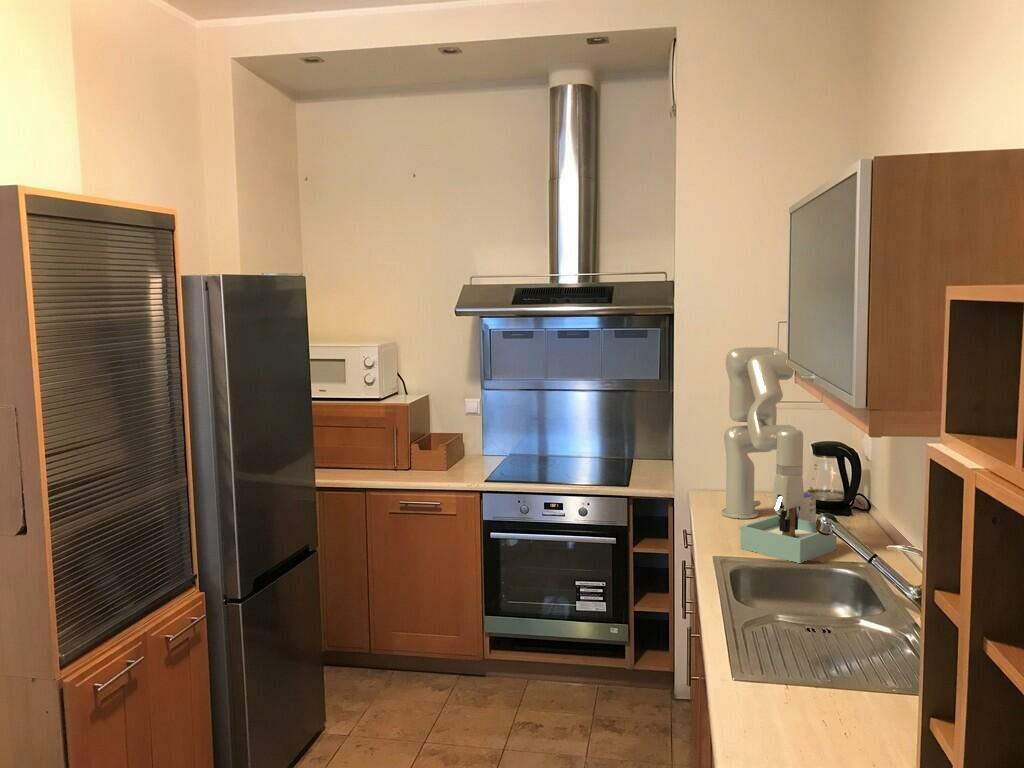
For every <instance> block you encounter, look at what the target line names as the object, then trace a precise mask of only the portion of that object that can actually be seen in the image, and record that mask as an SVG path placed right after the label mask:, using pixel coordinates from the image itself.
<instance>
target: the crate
mask: <svg viewBox="0 0 1024 768" xmlns="http://www.w3.org/2000/svg"><path fill="white" fill-rule="evenodd" d="M778 516H779V515H778V514H776V515H774V516H773V515H772V516H769V517H766V518H763V519H759V520H757V521H752V522H751V523H747V524H743V525H740V538H739V539H740V543H739V547H740V548H739V549H740V550H743V549H744V551H747V550H748V552H751V551H753V552H752V553H755V552H757V553H756V554H759V553H761V554H760V555H763V554H765V555H764V556H767V555H769V556H768V557H771V556H773V557H772V558H775V557H776V559H778V558H780V559H779V560H782V559H785V560H784V561H786V560H789V561H788V562H790V561H794V562H797V563H796V564H798V563H801V562H804V561H806V562H808V561H807V560H809V561H811V560H814V559H817V558H819V557H821V555H822V556H824V555H827V554H829V553H828V552H830V553H832V552H834V550H835V551H836V550H837V542H838V541H837V536H838V535H837V536H835V535H833V534H831V535H828V536H825V535H822V534H820V533H819V532H817V530H816V523H817V522H816V523H814V522H810V521H805V520H800V519H798V529H797V530H795V538H794V537H790V536H785V535H782V531H780V530H779V520H780V518H779V517H778ZM831 551H832V552H831ZM826 553H827V554H826ZM823 554H824V555H823ZM818 556H819V557H818ZM816 557H817V558H816ZM813 558H814V559H813ZM794 562H793V563H794ZM804 563H805V562H804ZM801 564H802V563H801Z"/></svg>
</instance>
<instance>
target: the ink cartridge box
mask: <svg viewBox="0 0 1024 768" xmlns="http://www.w3.org/2000/svg"><path fill="white" fill-rule="evenodd" d="M816 497H817V495H816V494H815V493H810V492H805V491H804V498H803V505H802V507H801V508H800V511H799V516H798V519H800V520H805V521H810V522H814V523H817V521H816V520H817V517H816V514H817V508H816V504H817V503H816V501H817V498H816Z"/></svg>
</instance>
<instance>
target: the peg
mask: <svg viewBox="0 0 1024 768" xmlns="http://www.w3.org/2000/svg"><path fill="white" fill-rule="evenodd" d="M783 508H784V506H783ZM783 511H784V510H783ZM785 512H786V511H784V513H785ZM789 519H790V532H788V533H787V532H783V531H782V535H785V536H790V537H794V538H795V507H794V508H792V509H789Z"/></svg>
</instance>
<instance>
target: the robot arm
mask: <svg viewBox="0 0 1024 768" xmlns="http://www.w3.org/2000/svg"><path fill="white" fill-rule="evenodd" d="M787 355H788V353H786V352H785V351H783V350H781V349H779V348H777V347H773V346H772V347H771V346H769V347H767V346H765V347H763V346H762V347H759V346H758V347H757V346H756V347H755V346H754V347H753V346H752V347H751V346H750V347H748V346H747V347H735V348H733V349H731V350H729V351H727V354H726V356H725V368H726V373H727V376H728V380H729V394H728V395H729V397H728V398H729V402H728V405H729V407H728V410H729V412H728V413H729V417H730V419H731V420H732V421H733V422H737V423H747V425H733V426H729V427H728V428H727V429H726V430H725V431H724V434H723V442H724V448H725V449H724V450H725V458H726V459H725V460H726V461H725V462H726V464H725V465H726V468H725V469H726V470H725V471H726V472H725V474H726V476H725V477H726V478H725V479H726V480H725V481H726V482H725V484H726V487H725V489H726V490H725V495H726V496H725V500H726V501H725V508H723V509H721V515H722V516H724V517H726V518H730V519H731V518H732V519H738V518H739V520H740V519H741V520H744V519H745V520H748V519H749V520H750V519H755V518H758V517H759V511H758V510H756V507H759V506H761V504H762V503H761V501H760V499H759V500H755V464H754V462H753V460H752V459H751V458H750V456H749V455H748V454H751V453H754V454H755V453H770V452H772V451H775V450H776V462H775V463H776V466H775V468H776V469H775V470H776V475H775V477H774V483H773V490H772V507H773V508H774V512H775V514H776V515H779V516H778V517H779V518H780V520H779V530H780V531H783V532H787V533H788V532H790V519H789V509H792V508H794V507H795V530H797V529H798V516H799V511H800V508H801V507H802V505H803V498H804V492H805V491H804V478H803V475H804V474H803V473H804V470H803V469H804V465H803V464H804V433H803V431H802V430H800V429H797V428H796V427H795V426H793V425H790V424H789V425H788V424H787V425H786V424H781V425H780V424H779V425H778V424H777V417H778V415H777V413H778V411H777V409H778V408H777V404H779V403H780V402H781V401H782V399H783V397H784V395H783V391H782V386H781V384H780V381H787V380H790V379H792V378H793V375H794V372H795V369H794V370H793V369H792V368H791V367H789V366H788V365H787V364H786V360H787ZM783 506H784V508H783ZM783 510H784V511H786V512H785V513H784V511H783Z"/></svg>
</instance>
